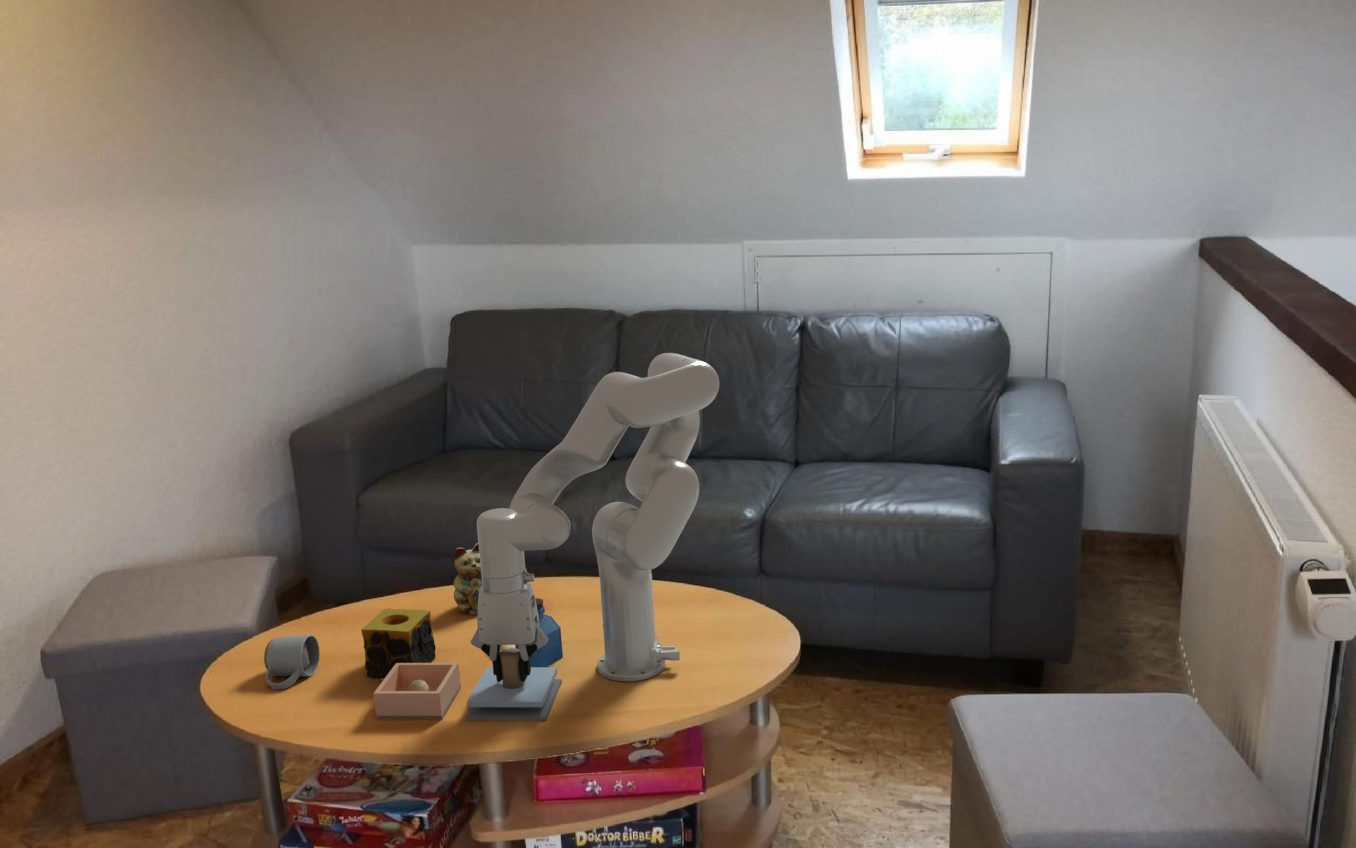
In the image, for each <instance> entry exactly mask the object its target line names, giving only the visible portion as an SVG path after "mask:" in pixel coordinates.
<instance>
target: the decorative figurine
mask: <svg viewBox="0 0 1356 848" xmlns="http://www.w3.org/2000/svg"><path fill="white" fill-rule="evenodd" d="M454 567H455V570H456V571H457V573H458V574H457V575H456V577H455V578H454V580H453V587H454V591H453V600H454V601H455V603H456V605H457V607H458V608H459V609H460V611H463V612H464V611H466V612H467V611H468V614H469V615H471V616H473V615H478V597H479V590H480V587H481V586H482V576H481V565H480V555H479V544H478V542H476V543H475V544H474V546H473V548H472V549H467V550H465V549H464V547H457V548H456V549H455V551H454Z"/></svg>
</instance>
